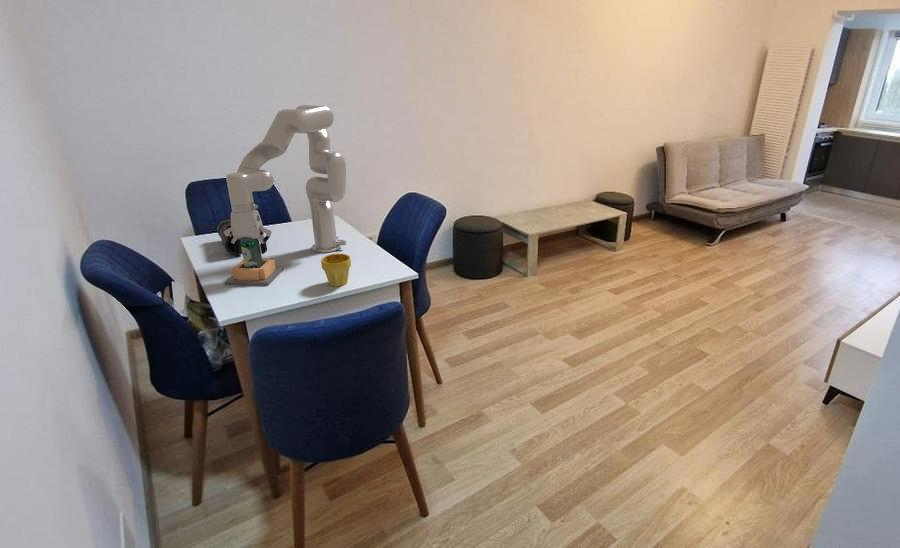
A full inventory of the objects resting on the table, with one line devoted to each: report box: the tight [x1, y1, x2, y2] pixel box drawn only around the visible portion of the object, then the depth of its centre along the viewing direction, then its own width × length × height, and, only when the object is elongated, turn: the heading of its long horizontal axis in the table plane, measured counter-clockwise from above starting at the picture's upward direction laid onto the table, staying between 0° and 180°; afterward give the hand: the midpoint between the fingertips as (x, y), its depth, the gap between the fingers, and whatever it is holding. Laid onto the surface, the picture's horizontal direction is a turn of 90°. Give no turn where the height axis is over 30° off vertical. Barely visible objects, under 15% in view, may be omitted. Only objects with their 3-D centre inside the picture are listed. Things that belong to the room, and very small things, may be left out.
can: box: [240, 238, 263, 268], centre depth 171 cm, size 6×6×15 cm
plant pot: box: [320, 253, 352, 287], centre depth 167 cm, size 10×10×10 cm
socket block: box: [223, 258, 285, 287], centre depth 173 cm, size 16×16×5 cm
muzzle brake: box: [216, 219, 243, 257], centre depth 203 cm, size 10×28×10 cm, turn 31°
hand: (251, 252), depth 170 cm, fingers open, 9 cm apart
